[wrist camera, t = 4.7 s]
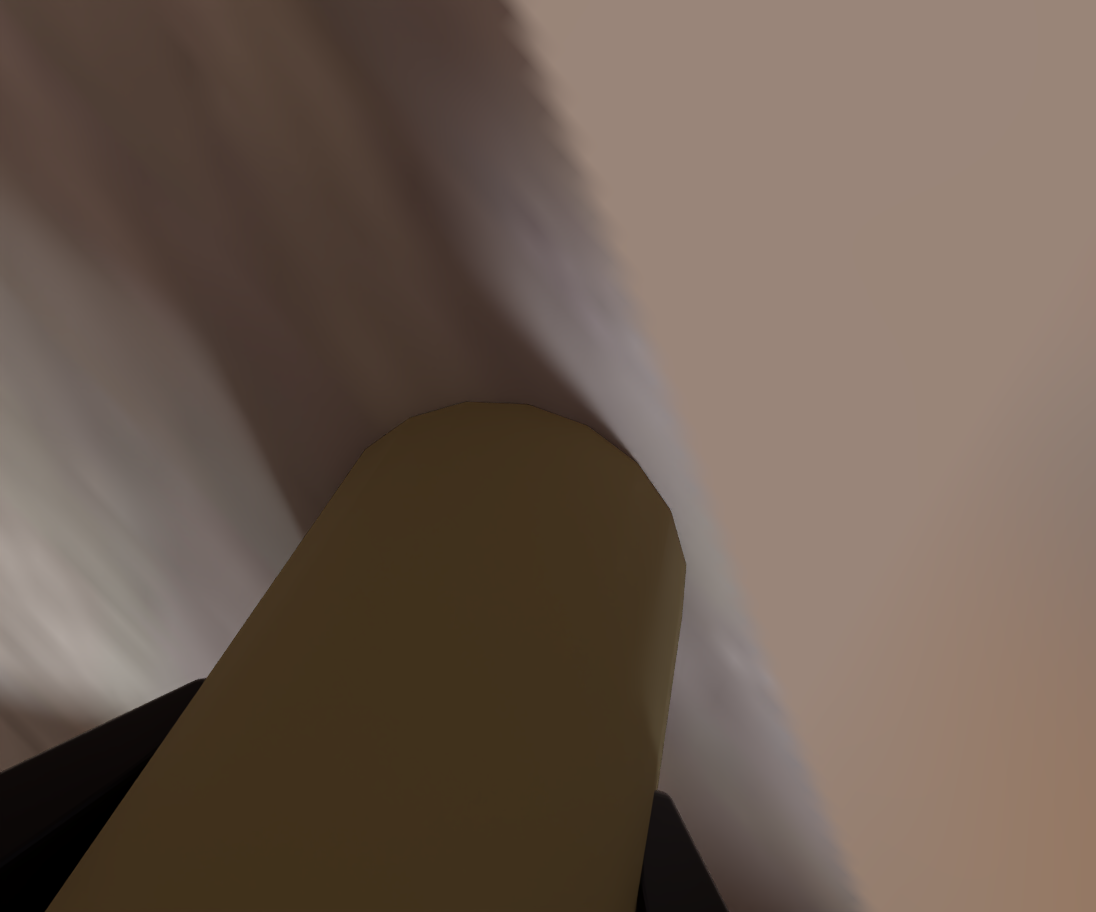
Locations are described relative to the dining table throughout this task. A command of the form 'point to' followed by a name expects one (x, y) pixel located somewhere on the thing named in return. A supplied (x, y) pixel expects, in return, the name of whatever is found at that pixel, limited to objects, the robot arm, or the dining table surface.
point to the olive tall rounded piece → (427, 695)
